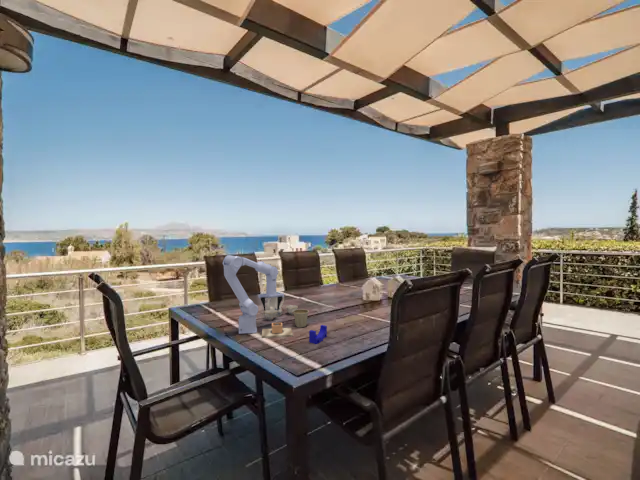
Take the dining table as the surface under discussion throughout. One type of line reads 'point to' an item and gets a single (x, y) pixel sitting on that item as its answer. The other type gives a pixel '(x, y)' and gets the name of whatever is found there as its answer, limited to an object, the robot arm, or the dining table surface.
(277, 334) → the post plate
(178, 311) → the dining table surface
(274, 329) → the collar
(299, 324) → the flower pot
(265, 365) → the dining table surface
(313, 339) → the cable clip
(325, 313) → the dining table surface
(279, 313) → the chinaware
